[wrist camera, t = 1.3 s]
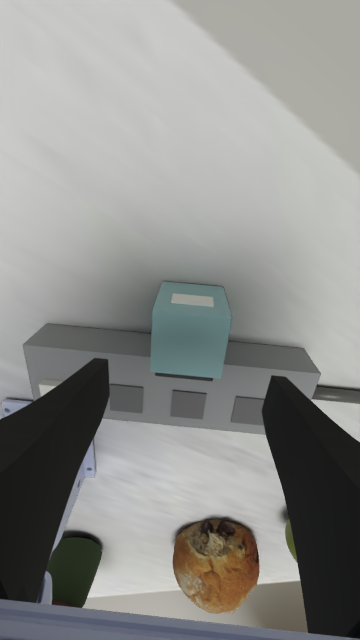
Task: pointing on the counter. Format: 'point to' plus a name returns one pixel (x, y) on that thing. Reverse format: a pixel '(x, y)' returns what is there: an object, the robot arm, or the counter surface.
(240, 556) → the bread roll
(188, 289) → the block
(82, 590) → the character mug
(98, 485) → the counter surface
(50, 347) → the power strip
